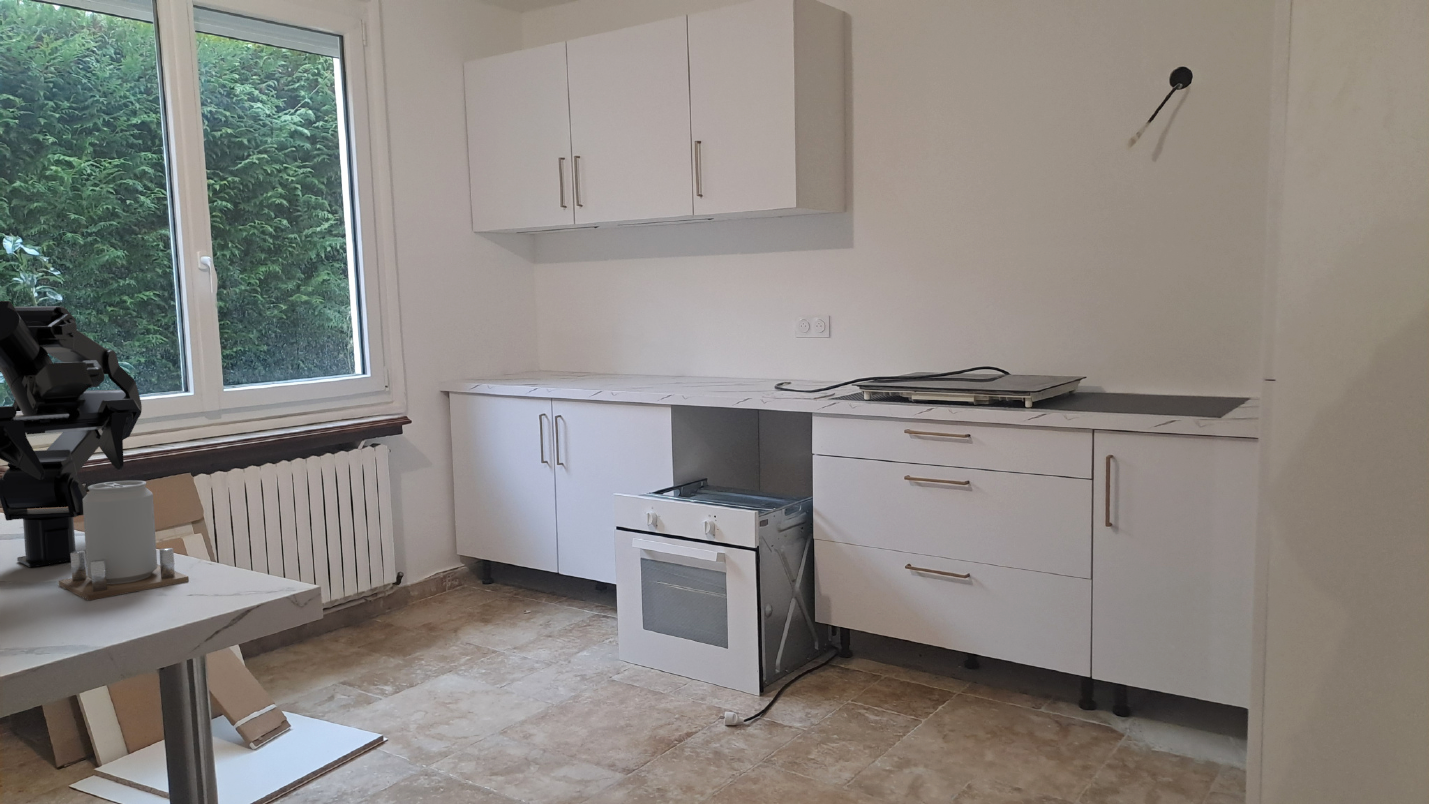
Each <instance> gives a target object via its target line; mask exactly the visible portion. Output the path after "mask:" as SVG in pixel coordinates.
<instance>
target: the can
mask: <svg viewBox="0 0 1429 804" xmlns="http://www.w3.org/2000/svg"><path fill="white" fill-rule="evenodd" d="M146 485H147V482H146V481H145V480H117V481H106V482H100V483H96V484H95V483H94V484H91V485H89V486H87V490H88V492H87V493H88V494H87V495H86V496H85V497H84V498H83V514H84V515H83V526H84V528H83V530H84V541H85V543H84V544H85V560H86V575H88V577H89V578H91V579H92V575H91V561H93V560H100V559H105V560H106V574H107V584H121V583H128V582H134V581H138V580H142V579H145V578H147V577H149V576H150V575H151V573H152V572H153V571H154V570H155V569H157V564H158V558H157V557H158V555H157V540H156V537H157V536H156V525H155V523H156V522H155V505H154V494H153V492H152V491H151V490H150V489H149V488H148V487H146Z"/></svg>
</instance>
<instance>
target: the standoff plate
mask: <svg viewBox="0 0 1429 804" xmlns="http://www.w3.org/2000/svg"><path fill="white" fill-rule="evenodd" d="M70 563H71V565H70V566H71V578H66V579H60V580H58V586H60V587H61V588H63V589H66V590H67V591H69V592H71V593H74V594H75V595H77V596H79V597H81V598H83V599H85V600H86V601H93V600H97V599H102V598H103V599H104V598H109V597H113V596H118V595H119V596H120V595H123V594H130V593H134V592H139V591H145V590H149V589H155V588H159V587H160V588H161V587H165V586H171V585H176V584H180V583H185V582H189V581H190V579H189V575H187V574H183V573H181V572H178V571H176V570H175V556H174V548H172V547H168V548H160V549H159V564H158V563H157V569H155V570H154V571H153V572H152V573H151V575H150V576H149V577H147V578H145V579H142V580H138V581H134V582H128V583H121V584H107V574H106V560H105V559H100V560H93V561H91V575H92V579H91V578H89V577H88V575H87V560H86V550H76V551H74V552H71V561H70Z"/></svg>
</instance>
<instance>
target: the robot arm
mask: <svg viewBox="0 0 1429 804" xmlns="http://www.w3.org/2000/svg"><path fill="white" fill-rule="evenodd" d="M76 320H77V319H76V317H74V316H73V315H72V314H71V313H70V311H69V310H68V309H67V308H65V306H62V305H57V306H56V305H55V306H53V305H51V306H49V305H48V306H47V305H45V306H44V305H43V306H36V305H35V306H14V304H13V303H12V301H11V300H0V373H1V374H2V377H3V378H4V380H5V383H6V384H7V386H8V388H9V390H10V393H11V394H12V396H13V398H14V400H13V401H14V402H13V403H12V405H6V406H5V405H4V406H2V405H1V406H0V460H1V461H4V462H6V463H7V466H8V468H7V469H6V470H5V472H4V473H3V475H2V476H1V477H0V505H1V507H2V511H3V515H4V518H5V520H6V521H8V522H9V521H13V520H22V525H23V537H24V551H25V552H24V553H25V555H24V556H23V555H22V556H18V557H17V558H16V559H17V560H16V561H17V562H18V563H21V564H23V565H25V566H27V567H29V568H35V567H40V566H47V565H53V564H57V563H58V564H59V563H64V562H65V563H66V562H71V552H74V551H77V550H76V537H75V524H74V522H75V521H74V520H75V519H74V518H76V517H79V516H84V514H83V498H84V497H85V496H86V495H87V494H88V493H89V492H87V490H86V488H85V487H84V485H83V482H81V480H80V479H79V477H78V472H80V470H81V469H82V468H83V467H84V466H85V464H86V463H87V462H88V461H89V460H90V458H91V457H92V455H94V454H95V453H96V451H97V450H98V449H99V448H100V450H101V452H102V453H103V454H104V456H106V458H107V459H108V461H109V462H110V463H111V464H112V466H113V467H114V468H115V469H116V470H117V471H121V470H122V469H123V467H124V465H125V464H124V440H126V439H127V438H129V437H130V436H131V435H132V432H133V430H134V427H135V426H136V423H137V421H138V420H139V418H140V417H141V415H142V409H143V408H142V407H143V405H142V400H141V397H140V394H139V389H138V387H137V382H136V380H135V379H134V378H133V377H132V376H131V375H130V374H129V373H128V372H127V371H126V370H125V369H124V368H122V366H121V365H120V363H119V360H118V356H117V353H116V351H115V350H112V349H111V350H110V348H105V347H104V346H102V345H100V344H99V343H98V342H96V341H95V340H94V339H92V338H90V337H89V336H88V335H86V334H84V333H83V332H81V331H79V330H78V329H77V328H78V327H77V323H76ZM51 357H54V358H55V359H57V360H59V361H60V362H53V361H52V358H51ZM105 375H108V376H107V377H108V379H109V380H111V382H112V383H114V384H115V385H116V386H117V387H118V388H119V389H99V390H97V389H96V390H95V389H93V390H89V389H90V388H98V387H99V386H100V385H101V384H102V383H103V382H104V381H105ZM17 412H21V413H22V415H21V414H19V415H17ZM53 433H56V434H57V433H61V434H60V435H59V436H58V437H57V438H56V439H55V440H54V441H53V442H52V443H51V445H49V447H48V448H46V450H45V449H44V450H43V449H41V450H39V449H38V450H34V448H33V446H32V444H31V443H30V441H29V440H28V437H27V435H38V434H40V435H41V434H53Z"/></svg>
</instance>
